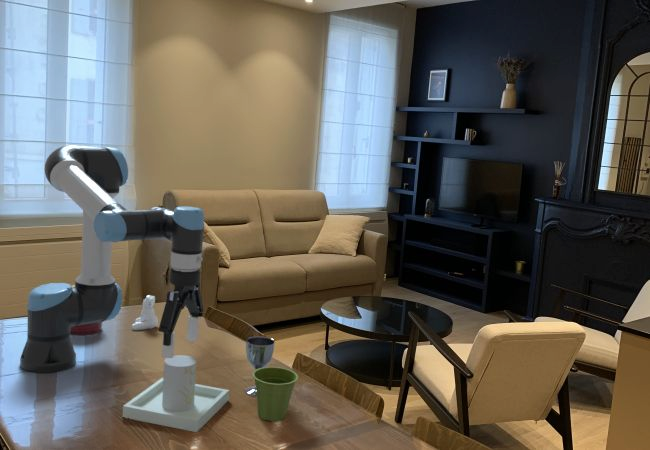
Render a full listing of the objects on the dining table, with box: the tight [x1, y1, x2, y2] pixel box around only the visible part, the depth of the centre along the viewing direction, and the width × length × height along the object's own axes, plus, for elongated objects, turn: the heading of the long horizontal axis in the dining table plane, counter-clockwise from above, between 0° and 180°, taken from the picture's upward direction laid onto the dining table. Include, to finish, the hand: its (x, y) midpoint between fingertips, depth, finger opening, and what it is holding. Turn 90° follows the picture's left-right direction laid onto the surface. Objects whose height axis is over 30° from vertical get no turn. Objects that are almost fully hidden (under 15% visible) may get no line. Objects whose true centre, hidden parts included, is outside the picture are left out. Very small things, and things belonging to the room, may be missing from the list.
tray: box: [122, 377, 230, 433], centre depth 163 cm, size 20×20×3 cm
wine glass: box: [243, 335, 276, 398], centre depth 177 cm, size 8×8×15 cm
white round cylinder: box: [162, 354, 198, 412], centre depth 162 cm, size 8×8×12 cm
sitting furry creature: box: [131, 294, 159, 331], centre depth 226 cm, size 10×9×12 cm
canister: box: [70, 284, 103, 336], centre depth 216 cm, size 13×13×18 cm
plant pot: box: [252, 366, 299, 422], centre depth 163 cm, size 12×12×11 cm
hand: (180, 348), depth 161 cm, fingers open, 13 cm apart
